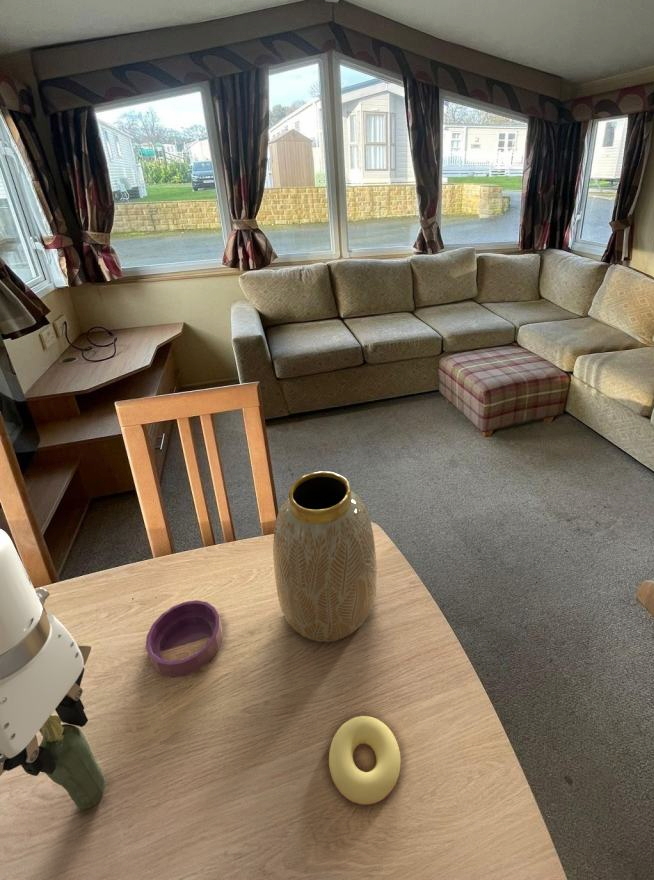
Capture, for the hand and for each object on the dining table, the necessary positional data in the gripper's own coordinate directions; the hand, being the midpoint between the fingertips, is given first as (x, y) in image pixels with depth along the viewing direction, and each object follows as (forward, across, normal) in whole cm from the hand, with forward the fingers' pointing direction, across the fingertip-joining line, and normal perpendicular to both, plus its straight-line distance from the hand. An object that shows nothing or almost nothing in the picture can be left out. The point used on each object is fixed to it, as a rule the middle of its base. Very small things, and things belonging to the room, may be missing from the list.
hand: (59, 743), depth 55 cm
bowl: (+15, -22, 0) cm, 26 cm away
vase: (+15, -33, +21) cm, 42 cm away
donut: (+15, -11, +33) cm, 38 cm away
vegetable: (+15, 0, 0) cm, 15 cm away
